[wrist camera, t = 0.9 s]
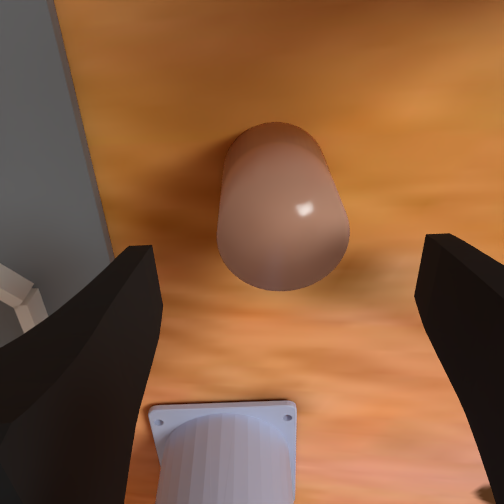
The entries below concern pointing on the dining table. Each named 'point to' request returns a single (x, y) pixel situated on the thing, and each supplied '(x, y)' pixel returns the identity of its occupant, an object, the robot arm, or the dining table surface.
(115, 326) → the robot arm
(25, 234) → the grey board with rings
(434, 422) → the dining table surface
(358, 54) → the dining table surface
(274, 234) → the beige rounded cylinder
